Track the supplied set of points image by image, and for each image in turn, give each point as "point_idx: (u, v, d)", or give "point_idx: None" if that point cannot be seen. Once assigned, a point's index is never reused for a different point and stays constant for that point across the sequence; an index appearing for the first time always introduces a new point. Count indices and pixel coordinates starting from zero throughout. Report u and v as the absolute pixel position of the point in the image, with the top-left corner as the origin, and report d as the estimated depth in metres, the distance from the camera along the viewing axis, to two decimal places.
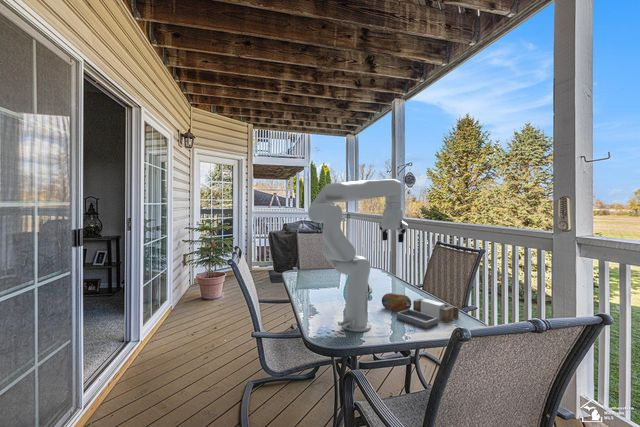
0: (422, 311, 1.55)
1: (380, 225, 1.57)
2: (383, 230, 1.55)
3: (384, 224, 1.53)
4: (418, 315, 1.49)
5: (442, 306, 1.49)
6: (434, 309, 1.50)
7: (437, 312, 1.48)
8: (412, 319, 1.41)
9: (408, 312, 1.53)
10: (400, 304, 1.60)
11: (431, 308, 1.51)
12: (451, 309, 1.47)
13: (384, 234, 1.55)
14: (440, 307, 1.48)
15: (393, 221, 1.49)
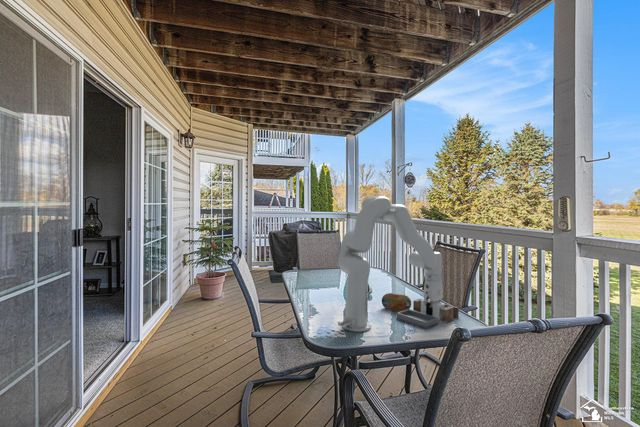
0: (422, 311, 1.55)
1: (427, 301, 1.49)
2: (431, 304, 1.50)
3: (434, 297, 1.49)
4: (418, 315, 1.49)
5: (442, 306, 1.49)
6: (434, 309, 1.50)
7: (437, 312, 1.48)
8: (412, 319, 1.41)
9: (408, 312, 1.53)
10: (400, 304, 1.60)
11: None
12: (451, 309, 1.47)
13: None
14: (440, 307, 1.48)
15: (440, 292, 1.52)
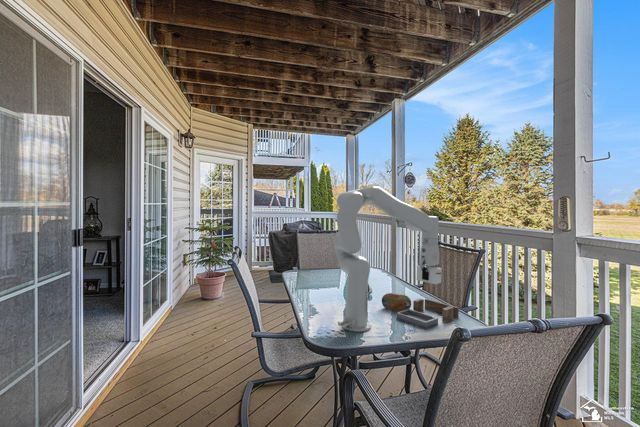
0: (418, 276, 1.52)
1: (423, 265, 1.46)
2: (427, 269, 1.48)
3: (430, 261, 1.46)
4: (418, 315, 1.49)
5: (438, 270, 1.47)
6: (430, 273, 1.47)
7: (433, 276, 1.46)
8: (412, 319, 1.41)
9: (408, 312, 1.53)
10: (400, 304, 1.60)
11: None
12: (451, 309, 1.47)
13: None
14: (437, 271, 1.46)
15: (437, 256, 1.50)
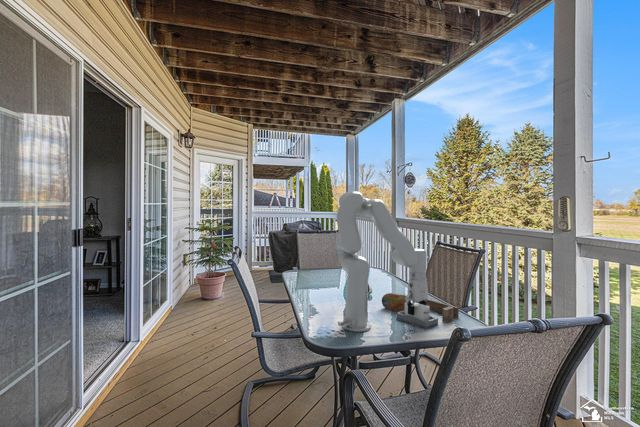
0: (406, 314, 1.47)
1: (409, 299, 1.40)
2: (413, 304, 1.41)
3: (418, 297, 1.41)
4: None
5: (426, 309, 1.41)
6: (418, 312, 1.42)
7: (421, 315, 1.40)
8: (412, 319, 1.41)
9: None
10: (400, 304, 1.60)
11: (415, 311, 1.43)
12: (451, 309, 1.47)
13: None
14: (425, 310, 1.40)
15: (425, 291, 1.44)
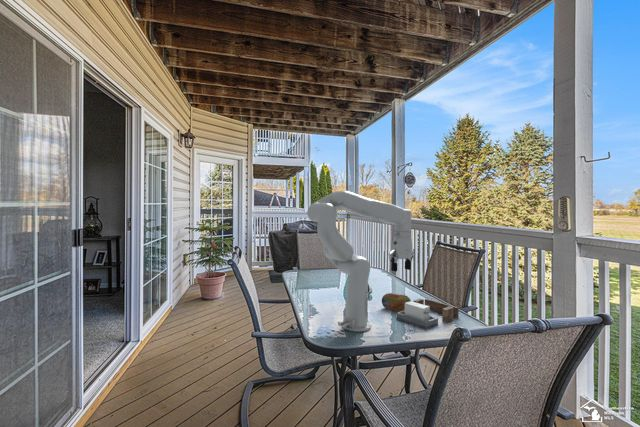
0: (406, 314, 1.47)
1: (392, 255, 1.45)
2: (396, 260, 1.46)
3: (402, 254, 1.46)
4: None
5: (426, 309, 1.41)
6: (418, 312, 1.42)
7: (421, 315, 1.40)
8: (412, 319, 1.41)
9: None
10: (400, 304, 1.60)
11: (415, 311, 1.43)
12: (451, 309, 1.47)
13: None
14: (425, 310, 1.40)
15: (409, 250, 1.49)
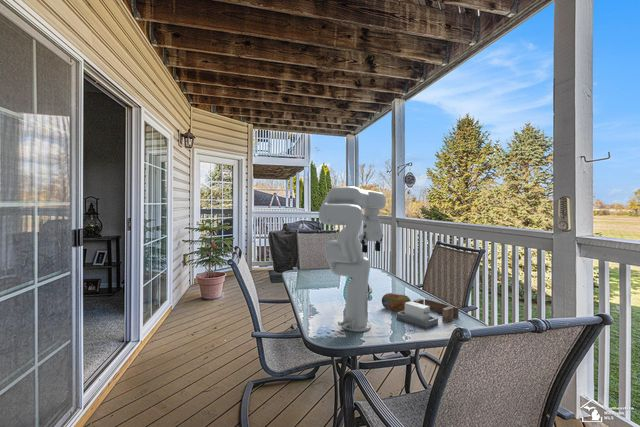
0: (406, 314, 1.47)
1: (362, 238, 1.56)
2: (366, 242, 1.57)
3: (371, 236, 1.57)
4: None
5: (426, 309, 1.41)
6: (418, 312, 1.42)
7: (421, 315, 1.40)
8: (412, 319, 1.41)
9: None
10: (400, 304, 1.60)
11: (415, 311, 1.43)
12: (451, 309, 1.47)
13: None
14: (425, 310, 1.40)
15: (378, 232, 1.60)
